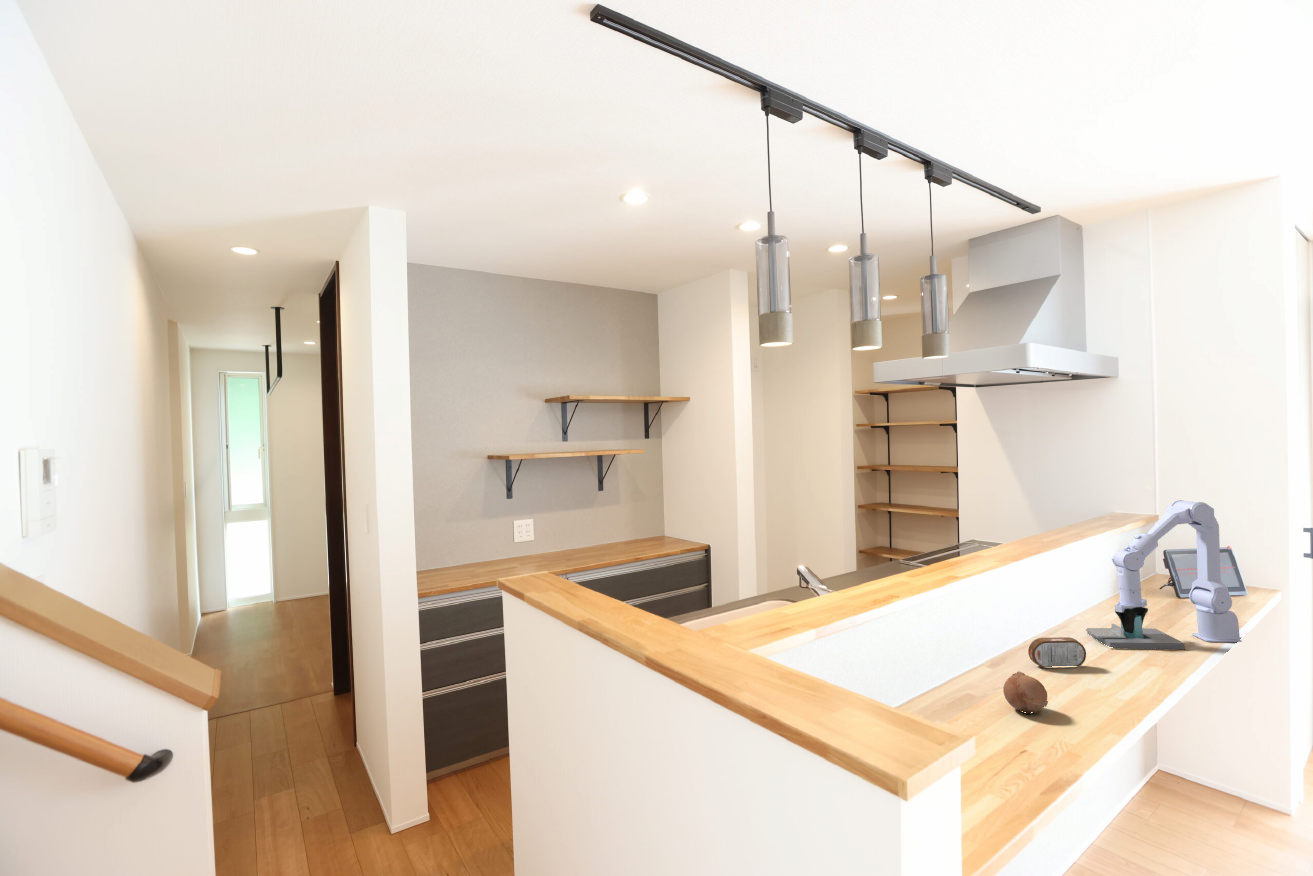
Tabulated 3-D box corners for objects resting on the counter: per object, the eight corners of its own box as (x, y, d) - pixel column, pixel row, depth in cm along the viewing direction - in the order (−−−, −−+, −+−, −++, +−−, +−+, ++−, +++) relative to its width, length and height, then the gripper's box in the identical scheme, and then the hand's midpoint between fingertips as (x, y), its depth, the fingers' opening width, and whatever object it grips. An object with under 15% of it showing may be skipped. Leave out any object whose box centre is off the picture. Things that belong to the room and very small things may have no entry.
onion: (1016, 717, 159) (1005, 675, 163) (1057, 714, 153) (1045, 671, 158) (1003, 715, 153) (992, 671, 157) (1046, 712, 147) (1033, 667, 152)
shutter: (1113, 630, 206) (1112, 623, 206) (1125, 637, 199) (1124, 629, 199) (1085, 630, 208) (1085, 623, 208) (1096, 637, 200) (1096, 629, 200)
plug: (1129, 635, 204) (1127, 613, 205) (1143, 638, 201) (1141, 616, 201) (1122, 637, 203) (1120, 615, 203) (1135, 640, 199) (1133, 618, 199)
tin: (1082, 665, 184) (1080, 636, 184) (1089, 668, 181) (1087, 639, 181) (1028, 666, 185) (1026, 637, 186) (1033, 669, 182) (1031, 640, 182)
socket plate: (1155, 634, 207) (1155, 628, 207) (1184, 649, 191) (1184, 643, 192) (1087, 634, 211) (1087, 628, 212) (1110, 648, 196) (1110, 642, 196)
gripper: (1131, 594, 195) (1134, 638, 195) (1156, 587, 202) (1159, 630, 201) (1106, 590, 201) (1109, 633, 201) (1131, 583, 208) (1134, 625, 208)
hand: (1133, 631), depth 202 cm, fingers closed on plug, 4 cm apart
